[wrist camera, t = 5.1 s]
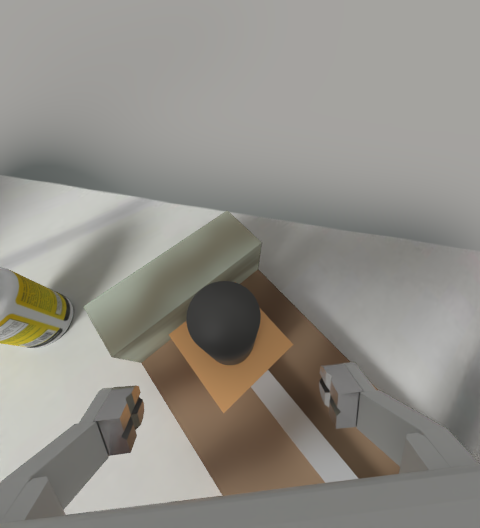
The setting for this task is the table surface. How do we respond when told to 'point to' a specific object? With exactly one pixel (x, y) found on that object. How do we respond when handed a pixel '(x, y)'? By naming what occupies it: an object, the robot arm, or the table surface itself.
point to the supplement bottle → (31, 312)
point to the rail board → (259, 394)
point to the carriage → (228, 340)
